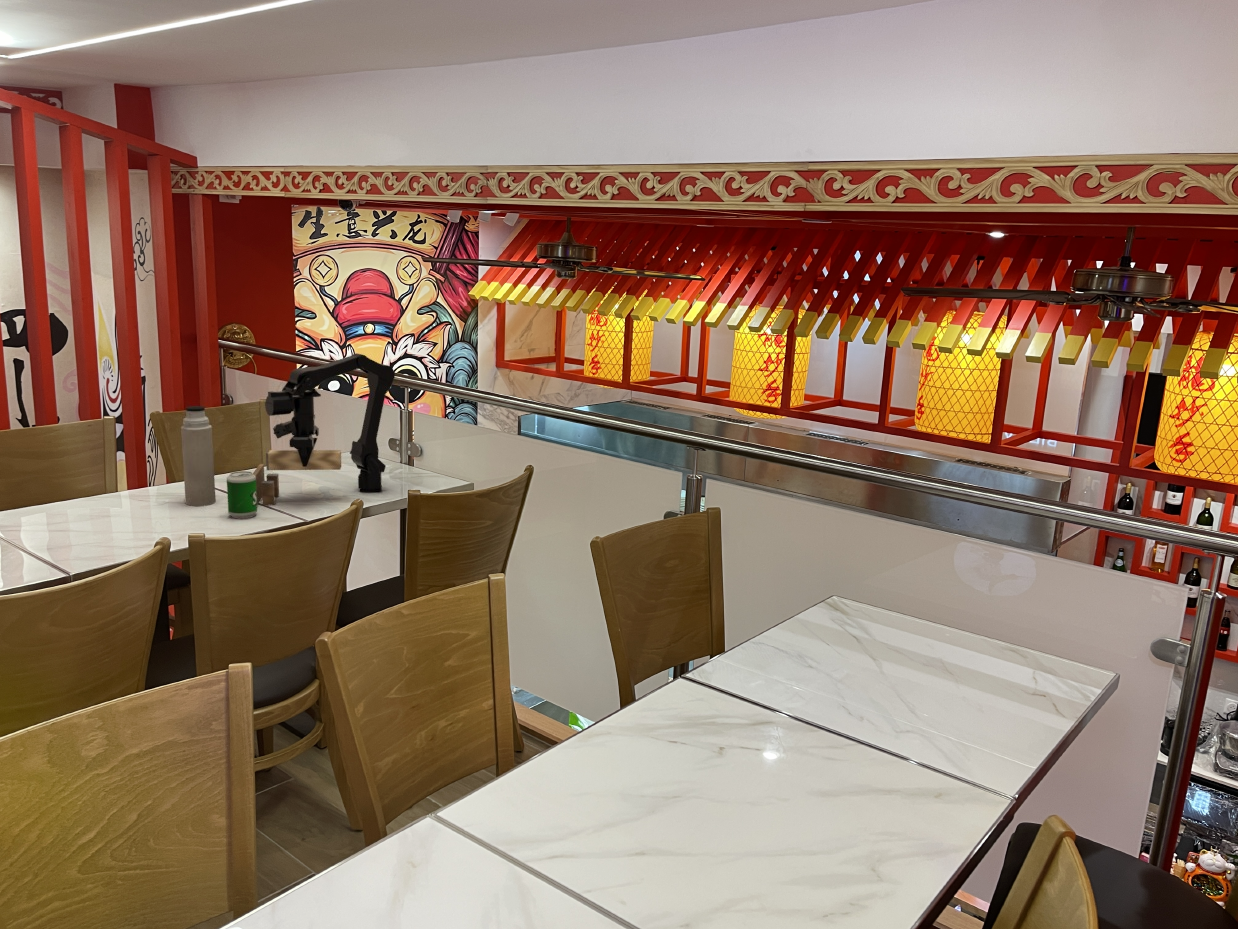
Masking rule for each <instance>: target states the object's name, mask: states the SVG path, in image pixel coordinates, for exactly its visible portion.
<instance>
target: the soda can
mask: <svg viewBox="0 0 1238 929" xmlns="http://www.w3.org/2000/svg"><path fill="white" fill-rule="evenodd" d="M253 473H254V472H253V471H247V470H241V471H240V470H238V471H232V472H231V473H229V475H227V477H226V491H227V509H228V510H227V512H228V514H229V515H230V516H231V517H232V518H234V519H249V518H253V517H254V516H255V515H256V514H257V513H258V505H257V490H256V476H255V475H254V474H253Z"/></svg>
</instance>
